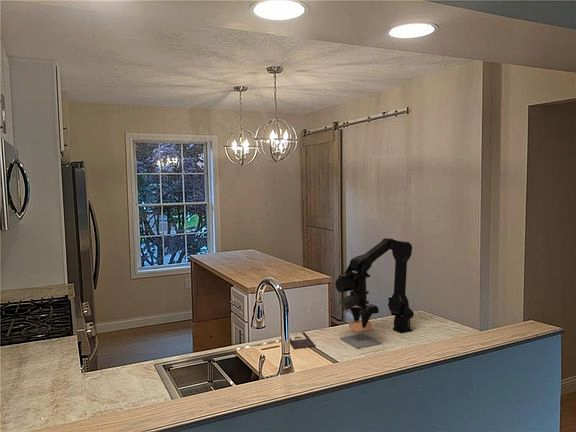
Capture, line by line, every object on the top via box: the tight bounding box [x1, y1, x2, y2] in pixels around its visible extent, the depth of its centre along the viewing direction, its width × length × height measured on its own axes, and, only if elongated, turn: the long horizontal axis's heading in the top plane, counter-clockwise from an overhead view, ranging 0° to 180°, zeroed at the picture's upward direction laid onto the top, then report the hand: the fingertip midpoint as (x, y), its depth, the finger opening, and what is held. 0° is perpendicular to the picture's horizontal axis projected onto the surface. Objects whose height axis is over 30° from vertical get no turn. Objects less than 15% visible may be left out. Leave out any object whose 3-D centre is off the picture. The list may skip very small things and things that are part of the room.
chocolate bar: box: [289, 331, 316, 350], centre depth 190 cm, size 9×1×18 cm
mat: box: [338, 332, 383, 350], centre depth 187 cm, size 12×14×1 cm
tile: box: [348, 319, 373, 332], centre depth 187 cm, size 5×8×2 cm, turn 114°
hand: (360, 325), depth 187 cm, fingers closed on tile, 5 cm apart
